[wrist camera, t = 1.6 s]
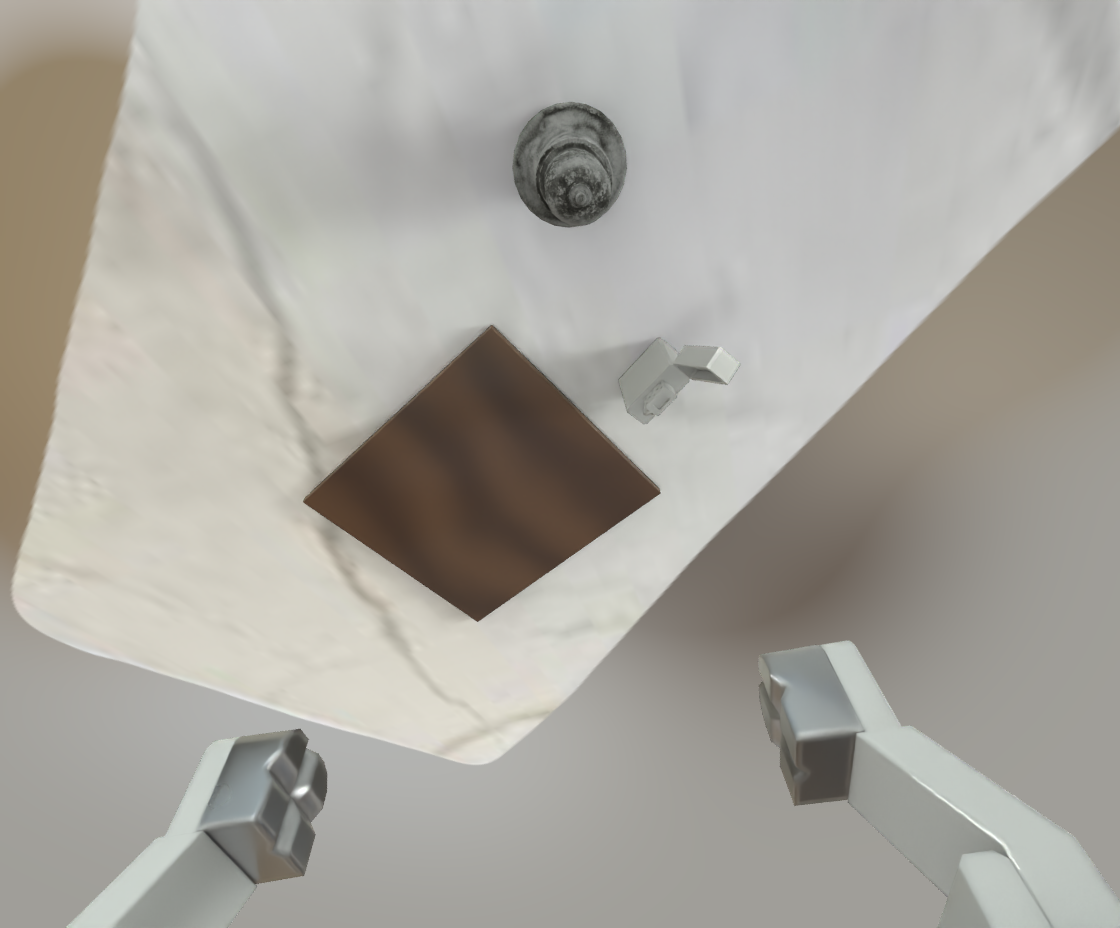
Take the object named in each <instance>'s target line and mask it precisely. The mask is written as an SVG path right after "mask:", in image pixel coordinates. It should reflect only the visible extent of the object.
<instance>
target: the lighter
mask: <svg viewBox="0 0 1120 928" xmlns="http://www.w3.org/2000/svg"><path fill="white" fill-rule="evenodd" d="M739 367H740V363H739V362H738V361H737V360H736V359H734V358H733V357H732V356H731V355H730V354H729V353H727V352H726V351H725V350H724V349H722V348H720V347H710V346H691V345H684V347H683V348H682V350H681V351H680V353H679V354H678V353H677V351H676V350H675V349H674V348H673V347H671V346H670V345H669V344H668V343H667V342H665V341H664V340H663V339H662V338H657V339H656V340H655V341H654V342H653V343H652V344H651V346H650V347H649V348H648V349H647V350H646V351H645V352H644V353H643V354H642V355H641V356H640V357H639V358H638V360H637V361H636V362H635V363H634V364H633V365H632V366H631V367H630V368H629V369H628V370H627V371H626V372H625V373H624V375H623V376H622V377H621V378H620V379H619V384H620V388H621V391H622V395H623V399H624V402H625V406H626V410H627V413H629V414H630V415H631V416H633V417H634V418H635V419H637V420H638V421H640V422H641V423H642V424H647V423H648V422H649V421H650V420H651V419H652V418H653V417H654V416H655V415H657V416H659V415H660V414H661V413H662V412H663V411H664V410H665V409H666V408H667V407H668V406H669V405H670V404H671V403H672V402H673V401H674V400H675V399H676V398H677V395H676V394H677V393H678V392H679V391H680V390H681V389H682V388H683V387H684V386H685V385H686V384H687V383H688V382H689V379H692V380H698V381H704V382H711V383H718V384H724V385H728V384H729V382H730V380H731V379H732V377H733V376H734V374H735V373H736V371H737V370H738V368H739Z"/></svg>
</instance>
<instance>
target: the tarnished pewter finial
mask: <svg viewBox="0 0 1120 928" xmlns="http://www.w3.org/2000/svg"><path fill="white" fill-rule="evenodd" d="M626 169H627V165H626V151H625V148H624V144H623V141H622V138H621V135H620V134H619V132H618V131H617V129H616V127H615V126H614V124H613V123H612V122H611V121H610V120H609V119H608V118H607V117H606V116H605V115H604V114H603V113H602V112H601V111H599V110H597V109H595V108H593V107H591V106H589V105H587V104H581V103H575V102H567V103H559V104H555V105H552V106H550V107H548V108H546V109H544V110H542V111H540V112H539V113H538V114H537V115H536V116H534V117H533V118H532V119H531V120H530V121H529V122H528V123H527V125H526V126H525V128H524V129H523V131H522V132H521V134H520V136H519V139H518V141H517V144H516V147H515V150H514V158H513V173H514V180H515V185H516V187H517V190H518V192H519V195H520V197H521V199H522V200H523V202H524V203H525V204H526V206H527V207H528V208H529V210H530V211H531V212H533V213H534V214H535V215H536V216H537V217H539V218H540V219H541V220H543V221H546V222H548V223H550V224H552V225H555V226H562V227H576V226H583V225H588V224H590V223H592V222H594V221H596V220H597V219H598V218H600V217H601V216H602V215H603V214H604V213H606V212H607V211H608V210H609V209H610V207H611V206H612V205H613V204H614V202H615V201H616V200H617V198H618V196H619V194H620V192H621V189H622V187H623V185H624V180H625V175H626Z"/></svg>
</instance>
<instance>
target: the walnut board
mask: <svg viewBox="0 0 1120 928" xmlns="http://www.w3.org/2000/svg"><path fill="white" fill-rule="evenodd" d="M659 494H660V489H659V488H658V487H657V486H656V485H655V484H654V483H653V482H652V481H651V480H650V479H649V478H648V477H647V476H646V475H645V474H644V473H643V472H642V471H641V470H640V469H639V468H638V467H637V466H636V465H635V464H634V463H633V462H631V461H630V460H629V459H628V458H627V457H626V456H625V455H624V454H623V453H622V452H621V451H620V450H619V449H618V448H617V447H616V446H615V445H614V444H613V443H612V442H611V441H610V440H609V439H608V438H607V437H606V436H605V435H604V434H603V433H602V432H601V431H600V430H599V429H598V428H597V427H596V426H595V425H594V424H593V423H592V422H591V421H590V420H589V419H588V418H587V417H586V416H585V415H584V414H583V413H581V412H580V411H579V410H578V409H577V408H576V407H575V406H574V405H573V404H572V403H571V402H570V401H569V400H568V399H567V398H566V397H565V396H564V395H563V394H562V393H561V392H560V391H559V390H558V389H557V388H556V387H555V386H554V385H553V384H552V383H551V382H550V381H549V380H548V379H547V378H546V377H545V376H544V375H543V374H542V373H541V372H540V371H539V370H538V369H537V368H536V367H535V366H534V365H533V364H532V363H530V362H529V361H528V360H527V359H526V358H525V357H524V356H523V355H522V354H521V353H520V352H519V351H518V350H517V349H516V348H515V347H514V346H513V345H512V344H511V343H510V342H509V341H508V340H507V339H506V338H505V337H504V336H503V335H502V334H501V333H500V332H499V331H498V330H497V329H496V328H495V327H494V326H493V325H491V326H490V327H489V328H488V329H487V330H486V331H485V332H484V333H482V334H481V335H480V336H479V337H478V338H477V339H476V340H475V341H474V342H473V343H472V344H471V345H469V346H468V347H467V348H466V349H465V350H464V351H463V352H462V353H461V354H460V355H459V356H458V357H457V358H455V359H454V360H453V361H452V362H451V363H450V364H449V365H448V366H447V367H446V368H445V369H444V370H442V371H441V372H440V373H439V374H438V375H437V376H436V377H435V378H434V379H433V380H432V381H431V382H430V383H428V384H427V385H426V386H425V387H424V388H423V389H422V390H421V391H420V392H419V393H418V394H417V395H415V396H414V397H413V398H412V399H411V400H410V401H409V402H408V403H407V404H406V405H405V406H404V407H403V408H401V409H400V410H399V411H398V412H397V413H396V414H395V415H394V416H393V417H392V418H391V419H390V420H388V421H387V422H386V423H385V424H384V425H383V426H382V427H381V428H380V429H379V430H378V431H377V432H376V433H374V434H373V435H372V436H371V437H370V438H369V439H368V440H367V441H366V442H365V443H364V444H363V445H361V446H360V447H359V448H358V449H357V450H356V451H355V452H354V453H353V454H352V455H351V456H350V457H349V458H347V459H346V460H345V461H344V462H343V463H342V464H341V465H340V466H339V467H338V468H337V469H336V470H334V471H333V472H332V473H331V474H330V475H329V476H328V477H327V478H326V479H325V480H324V481H323V482H322V483H320V484H319V485H318V486H317V487H316V488H315V489H314V490H313V491H312V492H311V493H310V494H309V495H307V496H306V497H305V499H304V501H303V502H304V503H305V504H306V505H308V506H309V507H311V508H312V509H314V510H315V511H317V512H318V513H320V514H321V515H322V516H324V517H325V518H327V519H328V520H330V521H331V522H333V523H334V524H336V525H337V526H338V527H340V528H341V529H343V530H344V531H346V532H347V533H349V534H350V535H352V536H353V537H355V538H356V539H357V540H359V541H360V542H362V543H363V544H365V545H366V546H368V547H369V548H371V549H372V550H374V551H375V552H376V553H378V554H379V555H381V556H382V557H384V558H385V559H387V560H388V561H390V562H391V563H392V564H394V565H395V566H397V567H398V568H400V569H401V570H403V571H404V572H406V573H407V574H409V575H410V576H411V577H413V578H414V579H416V580H417V581H419V582H420V583H422V584H423V585H425V586H426V587H428V588H429V589H430V590H432V591H433V592H435V593H436V594H438V595H439V596H441V597H442V598H444V599H445V600H446V601H448V602H449V603H451V604H452V605H454V606H455V607H457V608H458V609H460V610H461V611H463V612H464V613H465V614H467V615H468V616H470V617H471V618H473V619H474V620H476V621H477V622H478V621H480V620H481V619H482V618H484V617H485V616H487V615H488V614H490V613H491V612H492V611H494V610H495V609H497V608H498V607H500V606H501V605H502V604H504V603H505V602H507V601H508V600H510V599H511V598H512V597H514V596H515V595H517V594H518V593H519V592H521V591H522V590H524V589H525V588H527V587H528V586H529V585H531V584H532V583H534V582H535V581H537V580H538V579H539V578H541V577H542V576H544V575H545V574H546V573H548V572H549V571H551V570H552V569H554V568H555V567H556V566H558V565H559V564H561V563H562V562H564V561H565V560H566V559H568V558H569V557H571V556H572V555H573V554H575V553H576V552H578V551H579V550H581V549H582V548H583V547H585V546H586V545H588V544H589V543H591V542H592V541H593V540H595V539H596V538H598V537H599V536H600V535H602V534H603V533H605V532H606V531H608V530H609V529H610V528H612V527H613V526H615V525H616V524H618V523H619V522H620V521H622V520H623V519H625V518H626V517H627V516H629V515H630V514H632V513H633V512H635V511H636V510H637V509H639V508H640V507H642V506H643V505H645V504H646V503H647V502H649V501H650V500H652V499H653V498H654V497H656V496H657V495H659Z"/></svg>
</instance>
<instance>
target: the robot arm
mask: <svg viewBox="0 0 1120 928" xmlns="http://www.w3.org/2000/svg"><path fill="white" fill-rule="evenodd" d="M758 662H759V663H758V669H759V671H760V674H761V677H762V679H763V681H762V682H761V684H760V685H759V698H760V704H761V709H762V715H763V718H764V721H765V725H766V728H767V731H768V734H769V737H770V740H771V742H773V743H774V744H775V745H776V746H778V747H779V748H780V768H781V770H782V773H783V776H784V778H785V781H786V784H787V787H788V789H789V792H790V795H791V798H792V800H793V803H794V805H795V806H796V805H805V804H813V803H822V802H831V801H840V800H848V803H849V804H850V805H851V806H852V807H853V808H854V809H855V810H856V811H857V812H858V813H859V814H860V815H861V816H863V817H864V818H865V819H866V820H867V821H868V822H869V823H870V824H871V825H872V826H873V827H874V828H875V829H876V830H877V831H878V832H879V833H880V834H881V835H882V836H883V837H885V838H886V839H887V840H888V841H889V842H890V843H891V844H892V845H893V846H894V847H895V848H896V849H897V850H898V851H899V852H900V853H901V854H903V855H904V857H905V858H907V859H908V860H909V861H910V862H911V863H912V864H913V865H914V866H915V867H916V868H917V869H918V870H919V871H920V872H921V873H922V874H923V875H924V876H925V877H926V878H928V879H929V880H930V881H931V882H932V883H933V884H934V885H935V886H936V887H937V888H938V889H939V890H940V891H941V892H942V893H943V894H944V895H945V896H946V897H947V901H946V904H945V907H944V910H943V913H942V916H941V918H940V921H939V924H938V927H937V928H1120V900H1119V899H1118V897H1117V896H1116V895H1115V893H1114V892H1113V890H1112V889H1111V887H1110V886H1109V885H1108V883H1107V882H1106V880H1105V879H1104V878H1103V876H1102V875H1101V873H1100V872H1099V870H1098V869H1097V868H1096V866H1095V865H1094V863H1093V862H1092V861H1091V859H1090V858H1089V856H1088V855H1087V853H1086V852H1085V851H1084V849H1083V848H1082V846H1081V845H1080V843H1079V842H1078V841H1077V839H1076V838H1075V837H1074V836H1073V835H1071V834H1070V833H1068V832H1067V831H1066V830H1064V829H1063V828H1061V827H1060V826H1058V825H1057V824H1055V823H1054V822H1052V821H1051V820H1049V819H1048V818H1046V817H1045V816H1043V815H1042V814H1040V813H1039V812H1038V811H1036V810H1035V809H1033V808H1032V807H1030V806H1029V805H1027V804H1026V803H1024V802H1023V801H1021V800H1020V799H1018V798H1017V797H1015V796H1014V795H1013V794H1011V793H1009V792H1008V791H1007V790H1005V789H1004V788H1002V787H1001V786H999V785H998V784H996V783H995V782H993V781H992V780H990V779H989V778H988V777H986V776H984V775H983V774H982V773H980V772H979V771H977V770H976V769H974V768H973V767H971V766H970V765H968V764H967V763H965V762H964V761H962V760H961V759H959V758H958V757H956V756H955V755H954V754H952V753H951V752H949V751H948V750H946V749H945V748H943V747H942V746H940V745H939V744H938V743H936V742H935V741H933V740H932V739H930V738H929V737H927V736H926V735H924V734H923V733H921V732H920V731H918V730H917V729H915V728H914V727H913V726H902V727H901V725H900V723H899V721H898V720H897V718H896V716H895V714H894V713H893V711H892V709H891V707H890V705H889V704H888V702H887V700H886V698H885V697H884V695H883V693H882V691H881V690H880V688H879V686H878V684H877V683H876V681H875V679H874V677H873V676H872V674H871V672H870V670H869V669H868V667H867V665H866V664H865V661H864V660H863V658H862V656H861V655H860V653H859V651H858V649H857V647H856V646H855V645H854V644H853V643H852V642H851V641H842V642H836V643H830V644H824V645H819V646H818V645H813V646H808V647H801V648H796V649H790V650H784V651H778V652H773V653H767V654H761V655H760V656H759V659H758ZM308 740H309V739H308V738H307V737H306V735H305V734H304V733H303V732H302V730H301V729H295V730H288V731H280V732H273V733H266V734H259V735H251V736H242V737H236V738H229V739H223V740H217V741H214V742H213V743H212V744H211V745H210V746H209V747H208V748H207V749H206V750H205V752H204V754H203V756H202V758H201V760H200V763H199V765H198V767H197V769H196V771H195V773H194V775H193V778H192V780H191V782H190V784H189V786H188V788H187V790H186V792H185V794H184V797H183V799H182V801H181V803H180V805H179V807H178V809H177V811H176V814H175V816H174V818H173V820H172V822H171V824H170V826H169V829H168V831H167V833H166V835H165V836H164V837H159V838H156V839H155V840H154V841H153V842H152V843H151V844H150V845H149V846H148V847H147V848H146V849H145V850H144V851H143V852H142V853H141V854H140V855H139V856H138V857H137V858H136V859H135V860H134V861H133V862H132V863H131V864H130V865H129V866H128V867H127V868H126V869H125V870H124V871H123V872H122V873H121V874H120V875H119V876H118V877H117V878H116V879H115V880H114V881H113V882H112V883H111V884H110V885H109V886H108V887H106V889H104V891H102V893H101V894H99V895H98V896H97V897H96V899H94V900H93V901H92V902H91V903H90V904H89V905H88V906H87V908H86V909H84V910H83V911H82V912H81V913H80V914H79V915H78V916H77V917H76V918H75V919H74V920H73V921H72V922H71V923H70V924H69V925H68V926H67V927H66V928H228V927H229V925H230V924H231V923H232V921H233V920H234V918H235V917H236V916H237V914H238V913H239V912H240V910H241V909H242V907H243V906H244V904H245V903H246V902H247V900H248V899H249V898H250V896H251V895H252V893H253V892H254V890H255V889H256V888H257V885H255V884H259V883H265V882H270V881H276V880H282V879H288V878H293V877H299V876H304V874H305V871H306V867H307V864H308V860H309V856H310V853H311V849H312V845H313V842H314V838H315V832H314V830H313V827H312V825H311V822H312V820H313V819H314V818H315V817H316V816H317V814H318V813H319V812H320V811H321V810H322V809H323V805H324V801H325V797H326V793H327V771H326V768H325V764H324V761H323V760H322V758H321V757H320V755H319V754H318V753H316V752H313V751H311V750H309V749H307V748H306V746H307V743H308Z"/></svg>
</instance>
